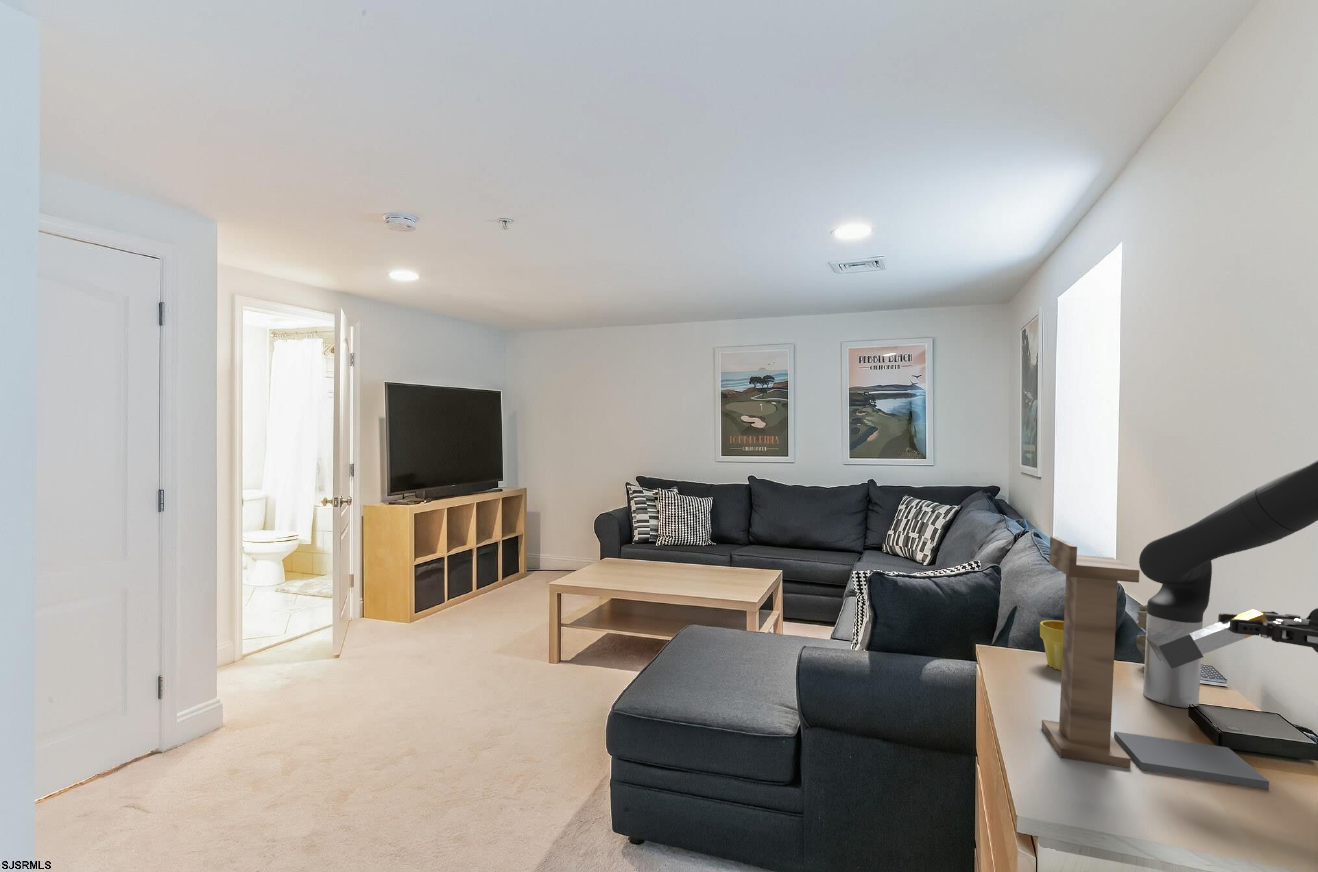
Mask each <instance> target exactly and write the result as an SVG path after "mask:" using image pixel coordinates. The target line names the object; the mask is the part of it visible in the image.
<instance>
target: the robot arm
mask: <svg viewBox="0 0 1318 872" xmlns="http://www.w3.org/2000/svg"><path fill="white" fill-rule="evenodd" d="M1317 521H1318V459H1317V460H1315V461H1314V462H1312V463H1310V464H1308V465H1306V466H1303V467H1301V468H1298V469H1296V470H1293V471H1291V472H1288V473H1286V474H1283V475H1281V476H1279V477H1276V478H1274V479H1273V480H1271V481H1268V482H1266V483H1264V484H1262V485H1260V486H1257V487H1256V488H1255V489H1252V490H1251V491H1249V492H1247V493H1245V494H1243V495H1242V496H1240V497H1238V498H1237V499H1235V500H1233V501H1231V502H1230V503H1228V504H1227V505H1223V506H1222V507H1220V508H1219V509H1217V510H1215V511H1214V512H1212V513H1210V514H1208V515H1206V516H1205V517H1204V518H1201V519H1200V520H1199V521H1197V522H1195V523H1193V524H1191V525H1189V526H1187V527H1185V528H1182V529H1179V530H1177V531H1175V532H1172V533H1170V534H1167V535H1165V536H1162V537H1160V538H1158V539H1157V538H1156V539H1155V540H1153V541H1150V542H1149V543H1147V544H1146V546H1144V547H1143V549H1142V551H1141V552H1140V555H1139V558H1138V563H1139V564H1138V565H1139V569H1140V570H1141V572H1142V573H1143V575H1144V576H1145V577H1146V578H1148V579H1149V580H1151V581H1153V582H1155V583H1159V584H1161V588H1160V589H1159V590H1158V591H1157V593H1156V594H1154V595H1153V596H1152V597H1150V598H1149V599H1148V601H1147V604H1146V605H1147V623H1146V631H1145V634H1146V638H1147V637H1149V636H1152V635H1154V634H1157V633H1160V632H1162V631H1165V630H1167V629H1170V628H1172V627H1175V626H1177V627H1178V628H1180V629H1182V630H1184V631H1185V632H1187V633H1189V634H1190V633H1193V632H1195V631H1198V630H1200V629H1203V624H1204V622H1203V621H1204V619H1203V618H1204V613H1205V611H1206V610H1207V608H1208V606H1209V602H1210V594H1211V585H1212V574H1213V565H1212V564H1213V563H1212V561H1213V560H1216V559H1218V558H1221V557H1224V556H1228V555H1231V554H1236V553H1240V552H1243V551H1248V550H1251V549H1255V548H1259V547H1262V546H1265V545H1268V544H1269V545H1270V544H1272V543H1275V542H1277V541H1280V540H1282V539H1284V538H1286V537H1289V536H1291V535H1293V534H1294V533H1296V532H1299V531H1302V530H1303V529H1306V528H1307V527H1309V526H1310V525H1312V524H1314V523H1316V522H1317ZM1245 612H1246V611H1243V613H1245ZM1260 612H1261V613H1263V614H1264V615H1265V617H1266V618H1267V620H1268V621H1261V624H1260V622H1259V621H1254V620H1244V619H1231V620H1230V631H1231V632H1233V633H1237V634H1247V635H1253V636H1260V637H1261V638H1263V639H1271V641H1272V642H1273V641H1274V643H1283V644H1284V643H1285V644H1289V645H1297V646H1301V647H1308V648H1312V649H1313V650H1314V651H1315V653H1317V654H1318V607H1317V608H1314V609H1313V610H1311V612H1310V613H1309V614H1308V616H1307V617H1306V618H1301V615H1297V614H1289V613H1286V614H1279V613H1278V612H1275V611H1272V610H1271V611H1260ZM1237 615H1238V614H1234V613H1224V612H1220V613H1218V617H1217V618H1218V620H1217V623H1219V622H1221V621H1224V620H1227V619H1229V618H1232V617H1235V616H1237ZM1201 666H1202V658H1200V659H1197V660H1195V661H1192V662H1189V663H1186V664H1184V665H1181V666H1178V667H1176V668H1173V669H1171V668H1170V667H1168V666H1167V665H1166V664H1164V663H1163V662H1161V661H1160V660H1159V659H1158V658H1157V656H1156V654H1155V652H1154V651H1153V649H1152V647H1151V646H1150V644H1149V642H1148V641H1147V639H1146V646H1145V664H1144V670H1143V671H1144V672H1143V690H1142V694H1143V695H1144V696H1145V697H1146V698H1147V699H1149V700H1152V701H1154V702H1156V703H1159V704H1164V705H1167V706H1172V707H1177V708H1182V709H1183V708H1184V709H1189V708H1188V706H1189V704H1199V705H1200V689H1201V687H1200V686H1201V668H1202V667H1201Z"/></svg>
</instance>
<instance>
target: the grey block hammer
mask: <svg viewBox="0 0 1318 872" xmlns="http://www.w3.org/2000/svg"><path fill="white" fill-rule="evenodd" d="M1244 612H1245V613H1244ZM1244 612H1242V613H1239V614H1237V616H1235V617H1232V618H1229V619H1227V620H1224V621H1221V622H1219V623H1218V622H1216V623H1214V624H1211V625H1208V626H1206V627H1202V629H1200V630H1198V631H1195V632H1193V633H1190V634H1189V633H1187V632H1185V631H1184V630H1182V629H1180V628H1178V627H1177V626H1175V627H1172V628H1170V629H1167V630H1165V631H1162V632H1160V633H1157V634H1154V635H1152V636H1149V637H1147V638H1146V639H1147V641H1148V642H1149V644H1150V646H1151V647H1152V649H1153V651H1154V652H1155V654H1156V656H1157V658H1158V659H1159V660H1160V661H1161V662H1163V663H1164V664H1166V665H1167V666H1168V667H1170V668H1171V669H1173V668H1176V667H1178V666H1181V665H1184V664H1186V663H1189V662H1192V661H1195V660H1197V659H1200V658H1201V659H1203V658H1204V655H1206V654H1207V653H1210V652H1213V651H1215V650H1218V649H1220V648H1223V647H1227V646H1229V645H1232V644H1234V643H1237V642H1239V641H1242V640H1244V639H1247V638H1250V637H1252V636H1254V635H1247V634H1237V633H1233V632H1231V631H1230V620H1231V619H1244V620H1254V621H1259V622H1260V624H1261V621H1268V620H1267V618H1266V617H1265V615H1264V614H1263V613H1261V612H1262V611H1258V610H1256V609H1250V610H1248V611H1244Z"/></svg>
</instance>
